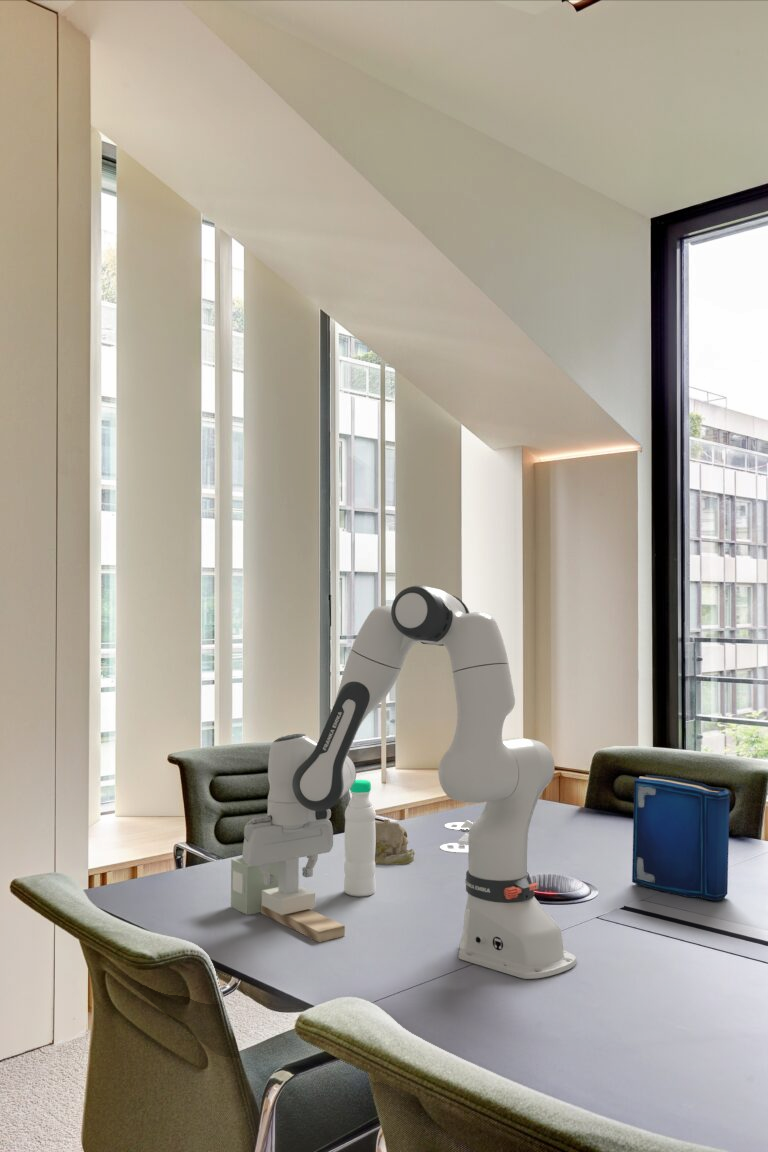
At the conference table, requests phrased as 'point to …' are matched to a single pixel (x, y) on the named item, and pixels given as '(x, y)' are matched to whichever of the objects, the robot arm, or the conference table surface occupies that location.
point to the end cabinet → (249, 885)
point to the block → (308, 923)
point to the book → (681, 837)
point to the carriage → (288, 891)
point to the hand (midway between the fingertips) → (288, 880)
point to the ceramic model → (391, 844)
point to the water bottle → (360, 842)
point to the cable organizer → (463, 838)
